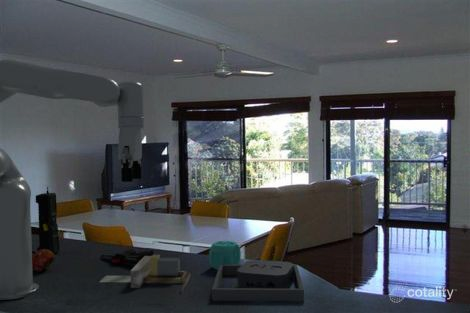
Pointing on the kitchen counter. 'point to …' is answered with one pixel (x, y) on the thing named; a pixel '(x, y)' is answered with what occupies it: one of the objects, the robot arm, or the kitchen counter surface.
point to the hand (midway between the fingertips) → (131, 180)
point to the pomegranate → (42, 260)
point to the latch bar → (164, 267)
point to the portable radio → (48, 222)
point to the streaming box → (265, 274)
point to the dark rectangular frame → (254, 289)
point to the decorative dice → (224, 254)
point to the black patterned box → (126, 257)
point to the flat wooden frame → (146, 276)
